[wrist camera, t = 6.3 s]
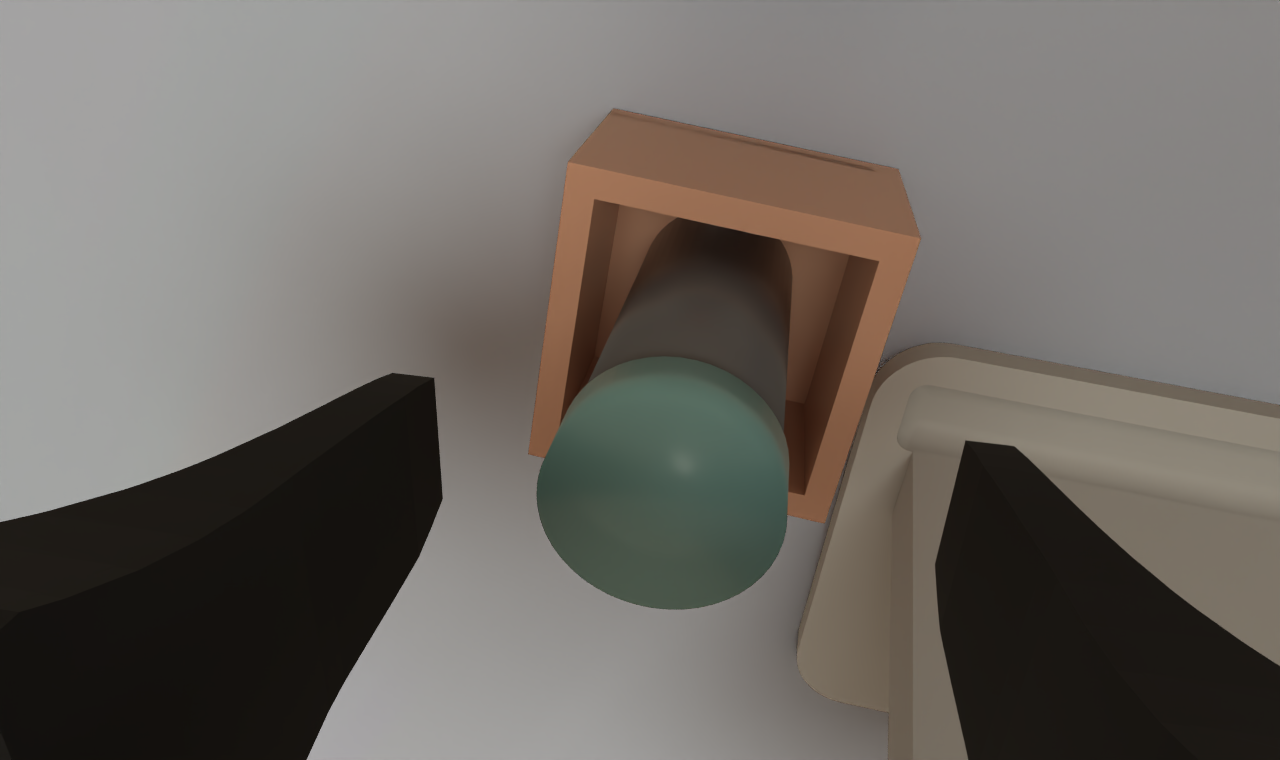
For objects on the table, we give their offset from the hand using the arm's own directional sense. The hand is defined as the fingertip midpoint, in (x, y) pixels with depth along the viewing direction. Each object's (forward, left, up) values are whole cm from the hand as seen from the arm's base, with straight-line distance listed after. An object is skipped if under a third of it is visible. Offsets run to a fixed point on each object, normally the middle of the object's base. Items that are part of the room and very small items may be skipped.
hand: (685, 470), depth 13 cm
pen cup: (0, 0, -8) cm, 8 cm away
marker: (0, 0, -7) cm, 7 cm away
